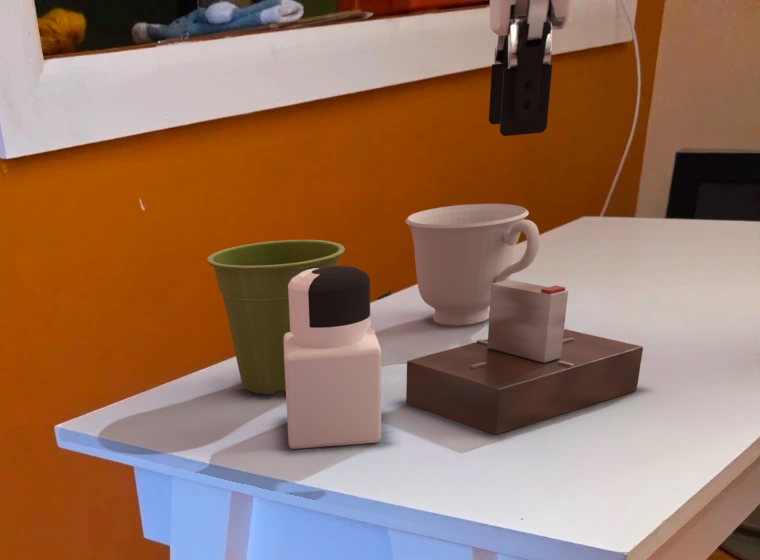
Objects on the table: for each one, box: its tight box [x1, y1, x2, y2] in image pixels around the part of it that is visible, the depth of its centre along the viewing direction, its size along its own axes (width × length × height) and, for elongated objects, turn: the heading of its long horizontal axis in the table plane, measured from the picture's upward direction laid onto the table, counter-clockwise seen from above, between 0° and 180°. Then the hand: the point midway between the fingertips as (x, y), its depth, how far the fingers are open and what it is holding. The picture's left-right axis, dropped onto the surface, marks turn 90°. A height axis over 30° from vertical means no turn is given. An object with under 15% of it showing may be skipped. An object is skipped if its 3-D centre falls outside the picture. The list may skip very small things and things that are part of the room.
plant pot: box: [206, 239, 346, 395], centre depth 85 cm, size 12×12×11 cm
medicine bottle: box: [284, 265, 382, 450], centre depth 73 cm, size 7×7×12 cm
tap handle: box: [487, 279, 569, 363], centre depth 76 cm, size 6×2×5 cm, turn 29°
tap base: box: [405, 328, 644, 436], centre depth 78 cm, size 15×11×4 cm
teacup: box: [404, 203, 541, 326], centre depth 98 cm, size 12×15×10 cm
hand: (515, 127), depth 72 cm, fingers open, 9 cm apart
